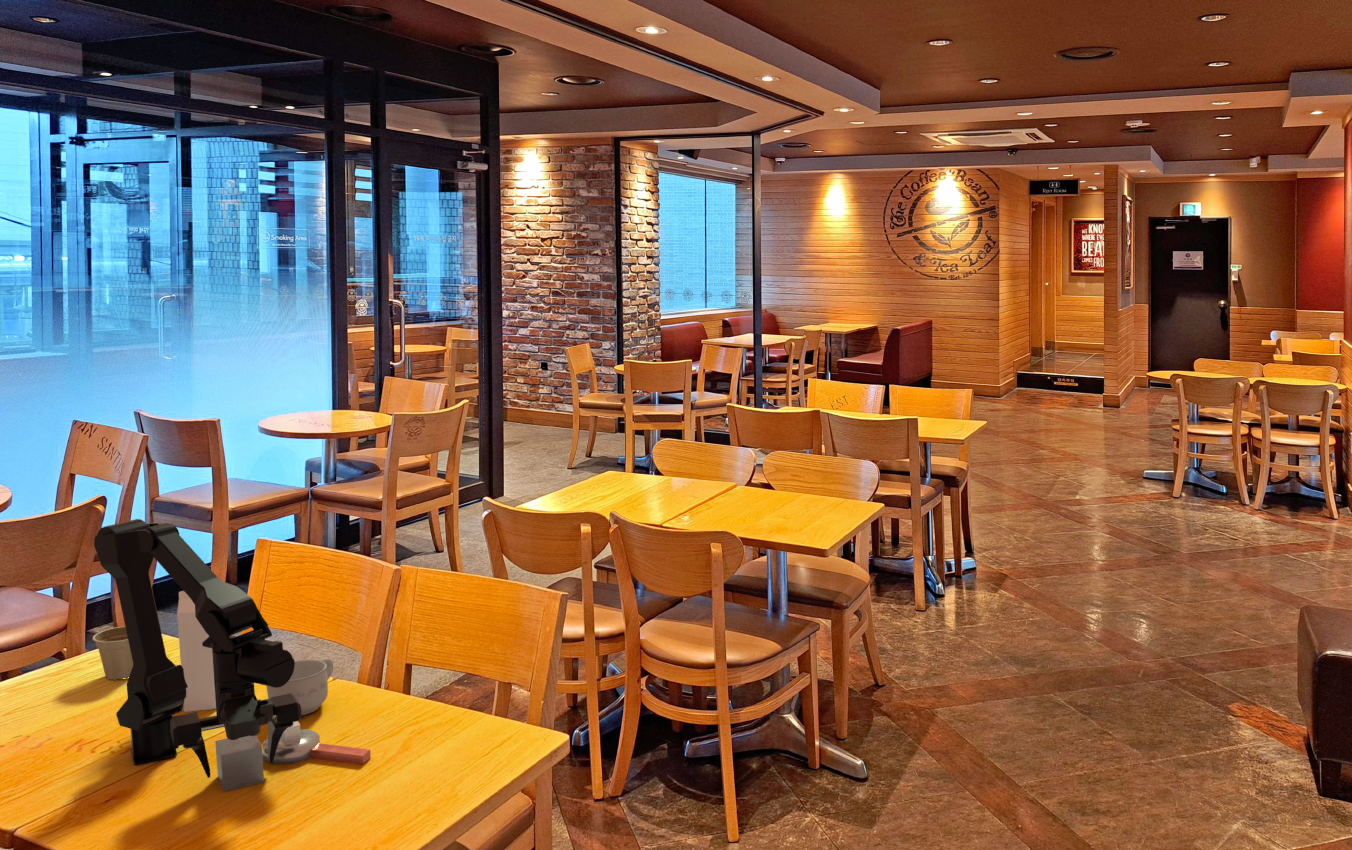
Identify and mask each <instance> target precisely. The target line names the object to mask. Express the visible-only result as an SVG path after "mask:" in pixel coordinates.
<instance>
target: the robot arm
mask: <svg viewBox="0 0 1352 850" xmlns="http://www.w3.org/2000/svg"><path fill="white" fill-rule="evenodd" d="M93 544H94V545H93V546H94V549H95V551H96V554H97V557H98V559H99V563H100V565H101V567H102V568H103V569H104V570H105V571H106V572H107V573H108V574H109V575H110V576H111V577H113V579H114V580H115V584H116V588H117V593H118V598H119V602H120V604H119V605H120V606H121V613H122V617H123V623H124V625H125V627H126V632H127V637H128V641H129V646H130V651H131V655H132V660H133V667H132V670H131V673H130V676H129V678H128V679H127V682H126V692H127V699H126V700H125V701H124V703H123V704H121V707H120V708H119V709H118V710H117V712H115V715H116V719H117V721H118V724H119V726H120V727H124V728H127V729H130V740H131V747H130V752H131V758H132V759H131V760H132V763H133V765H135V766H137V765H142V764H146V763H151V762H156V761H159V760H160V761H161V760H165V759H168V758H169V759H170V758H174V757H176V756H177V755H178V752H177V750H178V749H179V746H182V747H183V748H184V749H185V750H186V749H192V751H194V753H195V755H196V756H197V758H198V759H199V762H200V764H201V767H202V768H203V770H204V773H205V775H206V777H207V778H211V768H210V762H209V759H208V754H207V749H206V743H205V741H204V737H203V732H206V731H210V730H214V729H215V730H217V729H221V728H224V731H225V736H226V739H227V738H228V739H229V740H237V739H238V738H241V737H246V736H255V735H259V734H260V733H261V726H264V725H267V738H268V760H269V762H268V764H269V765H271V764H273V760H274V756H275V753H276V750H277V747H278V743H279V740H280V738H281V736H282V734H283V732H284V731H285V730H286V729H287V728H288V727H291V726H293V722H296V721H298V722H300V721H301V720H302V719H303V715H302V712H301V705H300V703H299V702H298V700H297V698H296V697H295V696H294V695H293V694H292V693H291V694H285V695H280V696H275V697H270V699H268V698H265V699H258V698H257V696H256V692H255V684H256V685H257V684H259V685H262V686H266V687H267V686H270V687H275V688H278V687H282V686H283V685H285V684H286V683H287V682H288V681H289V680H290V678H291V676H292V674H293V671H294V666H295V662H294V661H295V659H294V657H293V655H292V653H291V652H290V651H289V650H287V649H284V644H283V643H284V642H282V641H278V640H268V638H271V637H272V636H273V633H272V631H271V630H270V627H269V624H268V622H267V621H266V619H264V617H263V615H262V614H261V611H260V610H259V608H258V606H257V605H256V601H254V599H253V598H252V597H251V596H250V595H248V594H247V593H246V592H245V591H244V590H242V589H241V588H240V587H238V586H236V585H233V584H231V583H228V582H225V581H223V580H222V579H220V577H219V576H217V575H216V574H215V572H213V570H212V569H211V568H209V565H207V564H206V563H205V562H204V560H203V559H202V558H201V557H200V556H199V555H198V554H197V553H196V552H195V551H194V549H192V547H191V546H190V545H189V544H188V543H187V542H186V541H185V539H184V538H183V537H182V536H181V535H180V532H179V529H178V527H177V526H176V525H175V524H173V523H167V522H165V523H162V522H151V523H146V521H145V520H142V519H140V518H139V519H138V518H136V519H130V520H127V521H123V522H119V523H118V522H117V523H115V524H111V525H110V524H109V525H105V526H102V527H101V528H100V529H98V531H97V533H96V535H94V542H93ZM154 559H155V561H156V562H157V563H159V565H160V566H161V567H162V569H163V570H164V571H166V573H167V574H168V575H169V576H170V578H172V580H174V582H175V583H176V584H177V585H178V586H179V588H180V589H182V591H184V592H185V593H186V594H187V595H188V596H189V597H190V598H191V600H192V601H193V603H194V604H195V616H196V618H197V620H198V621H199V623H200V624H201V626H202V627H203V629H204V630H205V632H206V633H207V634H208V635H209V637H208V638H207V639H206V640H205V641H204V642H203V643H202V645H203V646H204V647H208V648H212V654H213V669H214V685H215V699H216V709H215V712H216V715H213V716H208V717H203V718H199V714H198V711H192V712H187V713H183V714H180V713H182V712H183V710H184V700H185V698H186V688H188V686H187V684H186V681H185V678H184V669H183V667H182V666H181V664H177V665H176V664H175V663H174V662H173V661H172V660H171V659H170V658H168V656H167V653H166V652H167V651H166V649H165V648H166V647H165V643H164V639H163V635H162V629H161V625H160V624H161V623H160V620H159V619H160V618H159V615H158V611H157V610H158V609H157V606H156V601H155V596H154V590H153V586H152V582H151V575H150V570H151V566H152V565H153V562H154ZM251 628H252V630H250V629H251ZM246 630H250V631H248V632H244V631H246ZM241 632H244V633H241ZM239 633H241V634H240V635H237V636H236V634H239Z"/></svg>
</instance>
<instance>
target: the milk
mask: <svg viewBox="0 0 1352 850" xmlns="http://www.w3.org/2000/svg"><path fill="white" fill-rule="evenodd" d="M177 604H178V606H177V611H176V612H177V613H176V615H177V616H176V617H177V618H176V619H177V628H178V630H177V632H178V642H179V658H180V659H179V660H180V665H181V666H182V667H183V669H184V678H185V681H186V684H187V686H188V688H186V698H185V700H184V704H183V711H184V713H192V712H198V711H209V710H216V699H215V685H214V669H213V654H212V648H208V647H204V646H203V645H202V643H203V642H204V641H205V640H206V639H207V638H208V637H209V635H208V634H207V633H206V632H205V630H204V629H203V627H202V626H201V624H200V623H199V621H198V620H197V618H196V616H195V604H194V603H193V601H192V600H191V598H190V597H189V596H188V595H187V594H186V593H185V592H184V591H183V590H181V591H178V603H177Z"/></svg>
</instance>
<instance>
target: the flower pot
mask: <svg viewBox="0 0 1352 850" xmlns="http://www.w3.org/2000/svg"><path fill="white" fill-rule="evenodd" d="M92 641H93V642H95V646H96V648H98V653H99V656H100V660H101V664H102V668H103V671H104V676H105V678H106V677H107V678H108V679H107V678H106V679H107V680H109V679H116V680H122V679H123V678H128V677H129V676H130V673H131V670H132V667H133V660H132V655H131V651H130V646H129V641H128V637H127V632H126V627H125V626H118V627H117V626H116V627H113V628H112V627H111V628H108V629H105V630H104V629H103V630H102V631H99V632H96V634H94V635H93V636H92Z"/></svg>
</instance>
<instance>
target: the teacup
mask: <svg viewBox="0 0 1352 850" xmlns="http://www.w3.org/2000/svg"><path fill="white" fill-rule="evenodd" d="M294 662H295V666H294V671H293V674H292V676H291V678H290V680H289V681H288V682H287V683H286V684H285V685H283V686H282V687H278V688H275V687H270V686H266V692H267V699H270V697H275V696H280V695H285V694H291V693H292V694H293V695H294V696H295V697H296V698H297V700H298V702H299V703H300V705H301V712H302V716H305V715H308V714H311V713H313V712H315V711H316V710H318V709H319V708H320V707H321V705H322V704H323V703H324V702H325V701H326V699H327V697H328V695H329V693H328V692H329V685H328V684H329V682H328V681H329V680H330V677H331V676H332V673H333V672H334V663H333V661H332V659H331V658H329V657H321V658H319V659H318V660H317V659H301V660H294Z"/></svg>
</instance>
